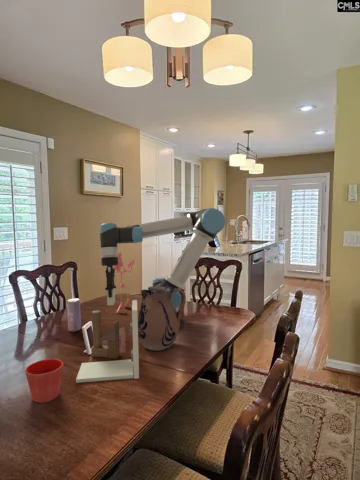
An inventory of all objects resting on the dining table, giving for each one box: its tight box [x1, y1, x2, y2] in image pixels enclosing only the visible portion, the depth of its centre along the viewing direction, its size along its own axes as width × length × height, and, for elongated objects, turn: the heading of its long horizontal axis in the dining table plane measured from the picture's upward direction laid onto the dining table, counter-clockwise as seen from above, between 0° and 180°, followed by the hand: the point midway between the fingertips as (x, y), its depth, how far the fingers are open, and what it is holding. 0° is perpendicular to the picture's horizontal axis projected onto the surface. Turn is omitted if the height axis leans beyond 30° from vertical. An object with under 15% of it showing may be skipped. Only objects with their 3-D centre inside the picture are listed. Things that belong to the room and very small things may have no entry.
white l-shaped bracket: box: [75, 299, 140, 384], centre depth 114 cm, size 21×13×24 cm, turn 98°
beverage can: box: [66, 297, 82, 332], centre depth 158 cm, size 6×6×15 cm
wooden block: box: [90, 309, 121, 360], centre depth 127 cm, size 4×11×18 cm, turn 76°
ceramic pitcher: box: [138, 285, 187, 352], centre depth 136 cm, size 18×21×25 cm
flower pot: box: [24, 358, 64, 404], centre depth 100 cm, size 11×11×10 cm
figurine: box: [105, 252, 135, 314], centre depth 188 cm, size 15×26×35 cm, turn 164°
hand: (111, 303), depth 145 cm, fingers open, 13 cm apart
